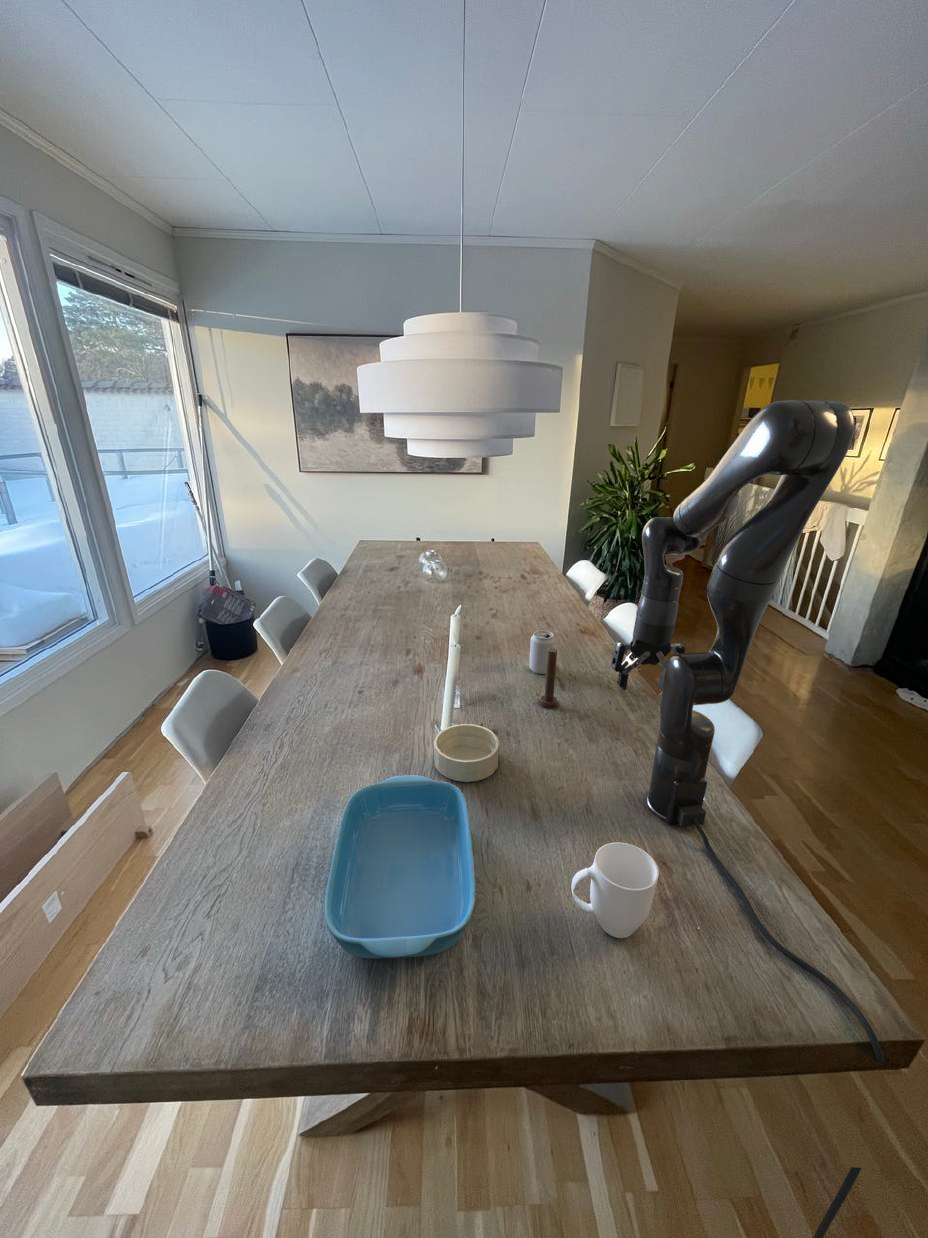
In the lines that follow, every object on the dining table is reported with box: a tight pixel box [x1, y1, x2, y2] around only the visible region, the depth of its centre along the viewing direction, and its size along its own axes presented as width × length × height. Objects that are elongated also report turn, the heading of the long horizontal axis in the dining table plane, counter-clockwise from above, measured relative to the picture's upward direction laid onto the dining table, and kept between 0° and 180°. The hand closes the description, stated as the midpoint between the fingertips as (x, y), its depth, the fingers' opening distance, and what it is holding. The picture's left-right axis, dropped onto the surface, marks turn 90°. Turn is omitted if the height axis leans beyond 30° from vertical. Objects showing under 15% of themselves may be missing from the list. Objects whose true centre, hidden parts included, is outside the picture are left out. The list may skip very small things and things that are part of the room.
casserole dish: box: [323, 774, 476, 959], centre depth 84 cm, size 37×22×7 cm, turn 4°
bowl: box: [433, 723, 500, 783], centre depth 114 cm, size 14×14×6 cm
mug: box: [570, 841, 660, 939], centre depth 76 cm, size 12×9×12 cm
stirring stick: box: [539, 648, 558, 709], centre depth 136 cm, size 4×4×16 cm
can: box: [528, 630, 557, 675], centre depth 155 cm, size 8×8×12 cm
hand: (642, 688), depth 109 cm, fingers open, 8 cm apart
